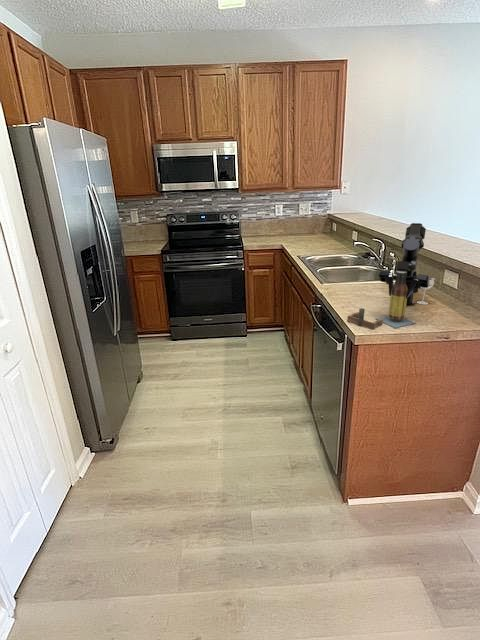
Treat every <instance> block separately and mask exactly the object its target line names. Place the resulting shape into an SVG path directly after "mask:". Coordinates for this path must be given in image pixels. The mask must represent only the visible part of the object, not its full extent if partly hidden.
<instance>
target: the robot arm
mask: <svg viewBox="0 0 480 640" xmlns="http://www.w3.org/2000/svg"><path fill="white" fill-rule="evenodd" d="M426 230H427V229H426V227H424V226H423V223H418V222H417V223H415V222H412V223H410V225H409V226H408V227H406V229H405V237H404V239H403V240H402V243H401V249H403V250H402V259H401V260H398V261H397V262H396V263H397V264H396V267H395V269H396V270H395V272H396V271H397V270H404V271H407V275H406V282H405V283H406V285H407V287H408V292H407V295H406V298H407V303H406V307H409V306H413V305H415V304H416V303H415V302H413V301H414V294H417V293H419V289H422V288H421V287H425V288H427V287H428V286H429V277H430V275H429V274H423V273H422V274H421V273H418V274H417V271H416V270H417V266H418V258H419V252H420V250H422V249H423V248H424V246H425V242H424V241H423V240H425V236H426V232H427V231H426ZM378 278H379V280H380V282H383V283H385V284H386V285H388V295H389V297H391V290H392V288H393V286H394V283H395V282H394V280H396V274H394V273H392V272H391V270H385V269H381V270H380V271H379V273H378Z"/></svg>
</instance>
